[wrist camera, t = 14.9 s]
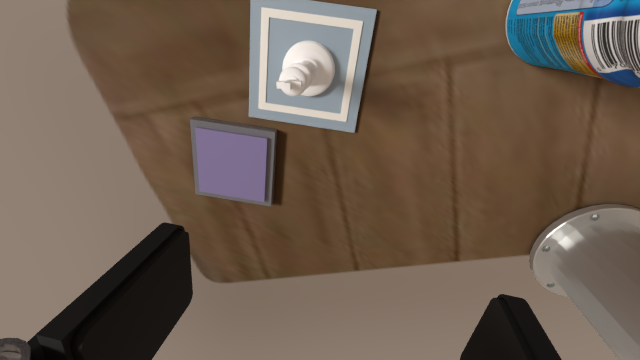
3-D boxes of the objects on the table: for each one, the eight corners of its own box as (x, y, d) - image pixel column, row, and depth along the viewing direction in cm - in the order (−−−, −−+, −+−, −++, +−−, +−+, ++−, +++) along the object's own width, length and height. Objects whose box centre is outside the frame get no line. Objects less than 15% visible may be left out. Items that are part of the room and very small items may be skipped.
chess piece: (334, 95, 29) (325, 123, 20) (285, 96, 30) (254, 123, 21) (334, 39, 27) (323, 43, 18) (280, 41, 28) (244, 45, 19)
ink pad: (277, 129, 32) (274, 133, 30) (273, 202, 36) (269, 208, 34) (194, 116, 32) (188, 120, 31) (199, 189, 36) (193, 195, 35)
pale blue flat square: (376, 9, 26) (377, 9, 26) (354, 131, 31) (354, 133, 31) (251, -8, 26) (250, -8, 26) (249, 115, 31) (248, 116, 31)
